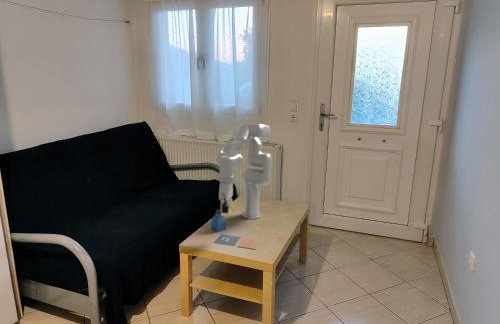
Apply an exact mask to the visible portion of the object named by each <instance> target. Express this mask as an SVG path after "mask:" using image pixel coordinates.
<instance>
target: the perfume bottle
mask: <svg viewBox="0 0 500 324" xmlns="http://www.w3.org/2000/svg"><path fill="white" fill-rule="evenodd" d="M210 221H211V222H210V223H211V224H210V225H211V227H210V228H211V230H212V231H215V232H216V233H220V232H223V231H226V230H227V220H226V218H225V216H224V215H223V214H221V209H216V210H215V215H213V217H212V218H211V219H210Z"/></svg>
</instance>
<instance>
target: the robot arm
mask: <svg viewBox="0 0 500 324" xmlns="http://www.w3.org/2000/svg"><path fill="white" fill-rule="evenodd" d="M271 132H272V129H271V127H270V126H269V125H268V124H264V123H257V122H256V123H255V122H245V123H243V124H242V125H241V126H240V128H239V130H238V132H237V134H236V135H235V137H234V139H231V140H230V141H228V142H226V143H225V144H224V145H223V146H222V147H221V149H220V151H219V152H218V154H217V157H216V160H217V163H218V165H219V189H218V200H219V201H220V205H221V204H222V212H223V213H228V206H227V201H228V200H229V199H232V197H233V195H234V185H233V183H234V169H235V168H240V167H241V166H242V165H243V164H244V157H243V155H242V154H240V153H236V151H240V150H244V149H246V148H247V147H248V150H247V165H248V166H249V167H254V168H247V169H245V170H244V172H243V176H242V178H243V182H244V204H243V205H244V210H243V212H242V213H241V216H242V217H243V218H245V219H252V220H253V219H258V218H261V217H262V212H260V188H259V186H258V185H261V186H267V185H269V184H270V182H271V178H272V177H271V176H272V169H273V168H272V167H273V157H272V155H271V154H270V153H268V152H262V150H263V144H262V141H261V139H264V140H267V139H269V138H270V137H271V135H272V134H271ZM234 152H235V153H234ZM259 168H261V169H259ZM224 199H226V200H224ZM224 201H226V203H225V202H224Z"/></svg>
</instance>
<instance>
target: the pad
mask: <svg viewBox="0 0 500 324" xmlns="http://www.w3.org/2000/svg"><path fill="white" fill-rule="evenodd" d="M261 241H262V239H261V238H255V237H248V236H247V237H246V236H243V238H242V240H241V241H240V242H239V243H238V245H237V248H241V249H242V248H243V249H248V250H253V251H254V250H256V249H257V248H258V247H259V245H260V243H261Z"/></svg>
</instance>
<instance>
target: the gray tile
mask: <svg viewBox="0 0 500 324" xmlns="http://www.w3.org/2000/svg"><path fill="white" fill-rule="evenodd" d="M240 239H241V236H236V235H229V234H223V233H220V234H219V236H218V237H217V238H216V239H215V240H214V241H213V244H217V245H225V246H230V247H235V245H236V244H237V243H238V242H239V241H240Z"/></svg>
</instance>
